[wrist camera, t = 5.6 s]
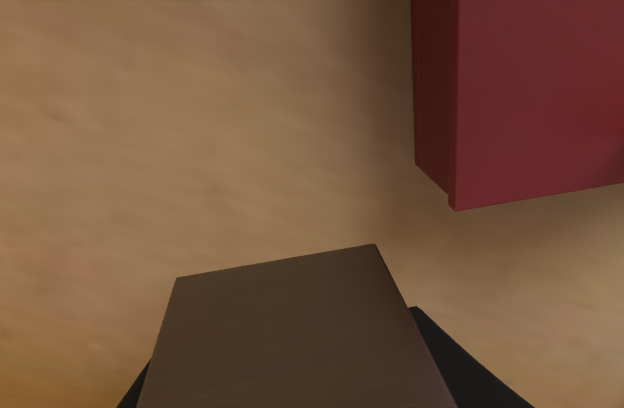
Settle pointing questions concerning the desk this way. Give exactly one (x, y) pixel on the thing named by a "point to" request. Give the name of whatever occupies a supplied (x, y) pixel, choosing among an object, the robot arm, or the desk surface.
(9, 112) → the desk surface
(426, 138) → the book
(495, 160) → the cover
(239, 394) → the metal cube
